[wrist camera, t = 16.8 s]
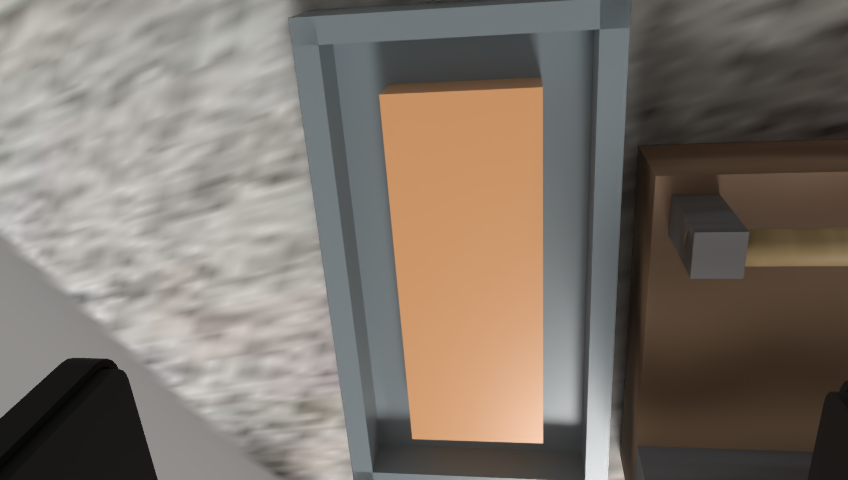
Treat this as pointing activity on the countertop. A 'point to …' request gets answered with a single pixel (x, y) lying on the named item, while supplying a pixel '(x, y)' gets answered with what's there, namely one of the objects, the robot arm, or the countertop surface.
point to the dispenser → (735, 308)
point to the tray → (562, 215)
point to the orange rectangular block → (469, 254)
